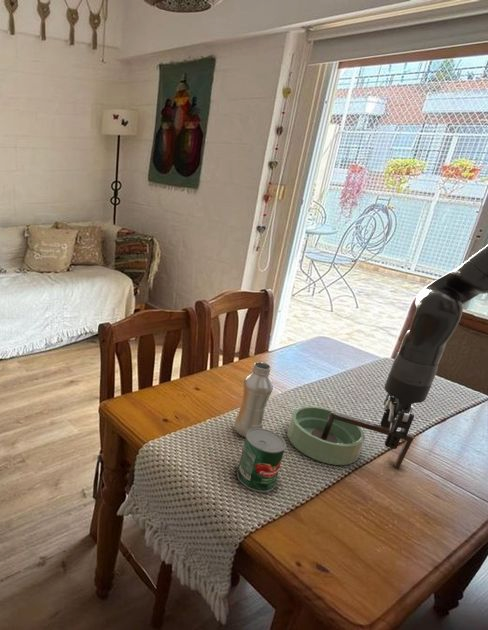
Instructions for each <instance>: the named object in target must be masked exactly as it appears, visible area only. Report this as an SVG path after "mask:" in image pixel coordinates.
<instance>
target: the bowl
mask: <svg viewBox="0 0 488 630" xmlns="http://www.w3.org/2000/svg"><path fill="white" fill-rule="evenodd" d="M331 412H337V413H340V414H342V413H341V412H338V411H336V410H334V409H330V408H326V407H322V406H314V405H306V406H300V407H297V408H295V410H293V412H292V413H291V417H290V421H289V424H288V428H287V433H286V434H287V438H288V440H289V442H290V444H292V446H293V447H294V448H295V449H296V450H298V451H299V452H300V453H302V454H304V455H305V456H307V457H309V458H311V459H313V460H316V461H318V462H321V463H325V464H328V465H335V466H347V465H351V464H353V463H355V462H357V459H358V458H359V457H360V454H361V450H362V448H363V445H364V442H365V441H366V435H365V434H366V433H365V431H364V430H363V427H359V426H356V425H353V424H349V423H346V422H343V421H339V420H336V419H334V421H333V424H332V426H331V429H330V433H332V434H333V435H334V436H335V437H336V438H337V443H332V442H329V441H325V440H322V439H320V438H318V437H316V436H313V435H312V434H311V433H312V431H313V430H315V429H322V430H324V428H325V426H326V423H327V420H328V418H329V415H330V413H331Z"/></svg>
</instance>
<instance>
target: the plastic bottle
mask: <svg viewBox="0 0 488 630" xmlns="http://www.w3.org/2000/svg"><path fill="white" fill-rule="evenodd" d="M271 367H272V366H271V365H270V364H268V363H266V362H262V361H256V362H254V364H253V368H252V372H251V373H249V375H247V376H246V377H245V378H244V381H243V391H242V392H243V393H242V400H241V404H240V408H239V410H238V413H237V415H236V416H235V417H236V418H235V419H234V429H235V431H236V432H237V434H238V435H240V436H241V437H243V438H246V433H247V431H249V430H250V429H254V428H262V429H264V415H265V410H266V407H267V404H268V401H269V399H270V397H271V395H272V392H273V391H274V384H273V382H272V379H271V378H270V375H271V370H272V369H271Z"/></svg>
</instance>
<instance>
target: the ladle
mask: <svg viewBox="0 0 488 630" xmlns="http://www.w3.org/2000/svg"><path fill="white" fill-rule="evenodd" d="M337 412H338V411H336V412H331V413H330V415H329V418H328V420H327V423H326V426H325V428H324V430H322V429H315V430H313V431H312V433H311V434H312V435H313V436H316V437H318V438H320V439H322V440H325V441H329V442H332V443H337V438H336V437H335V436H334V435H333V434H332V433H330V429H331V426H332V424H333V421H334V419H336V420H339V421H343V422H346V423H349V424H353V425H356V426H359V427H361V428H362V429H366V430H370V431H373V432H376V433H379V434H383V435H385V436H387V435H388V433H389V429H390V428H388V427H385V426H381V424H377V423H375V422H371V421H367V420H364V419H360V418H357V417H353V416H350V415H347V414H343V413H341V412H338V413H337ZM340 413H341V414H340ZM400 440H403V441H404V443H403V444H402V447H401V449H400V451H399V454H398V455H397V458H396V460H395V462H394V468H396V469H400V468H401V465H402V463H403V461H404V459H405V457H406V455H407V454H408V452H409V449H410V447H411V444H412V443H413V441H414V434H411V433H408V434H407V437H406V439H404V438H401V439H400Z"/></svg>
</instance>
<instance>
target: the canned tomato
mask: <svg viewBox="0 0 488 630" xmlns="http://www.w3.org/2000/svg"><path fill="white" fill-rule="evenodd" d="M286 446H287V445H286V441H285V440H284V439H283V437H282V436H281V435H279V434H278V433H277V432H274V431H273V430H270V429H267V428H263V429H262V428H254V429H250V430H249V431H247V433H246V437H244V442H243V446H242V452H241V455H240V460H239V466H238V470H237V472H236V476H237V479H238V480H239V482H240V483H241V485H243V486H245V487H246V488H247V489H250V490H252V491H254V492H258V493H269V492H271V491H273V490H274V489H275V487H276V483H277V479H278V476H279V472H280V467H281V464H282V461H283V457H284V453H285V449H286Z"/></svg>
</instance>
